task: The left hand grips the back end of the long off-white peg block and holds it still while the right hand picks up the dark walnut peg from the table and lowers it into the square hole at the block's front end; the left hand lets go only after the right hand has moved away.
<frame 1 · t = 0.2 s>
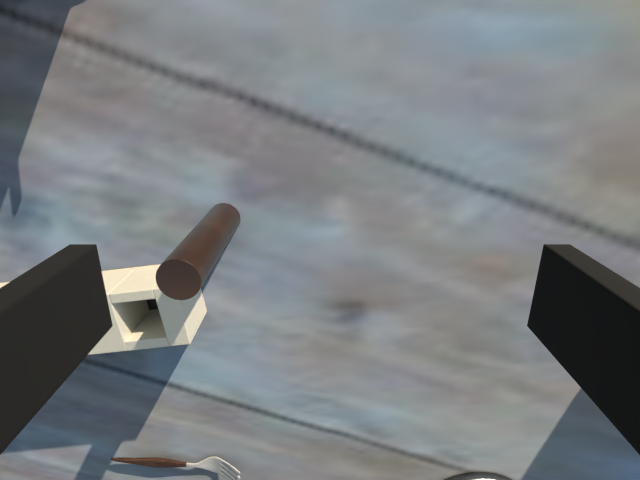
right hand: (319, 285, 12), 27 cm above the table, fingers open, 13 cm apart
fork: (178, 459, 51), on the table
walnut peg: (224, 217, 40), on the table
peg block: (89, 299, 43), on the table
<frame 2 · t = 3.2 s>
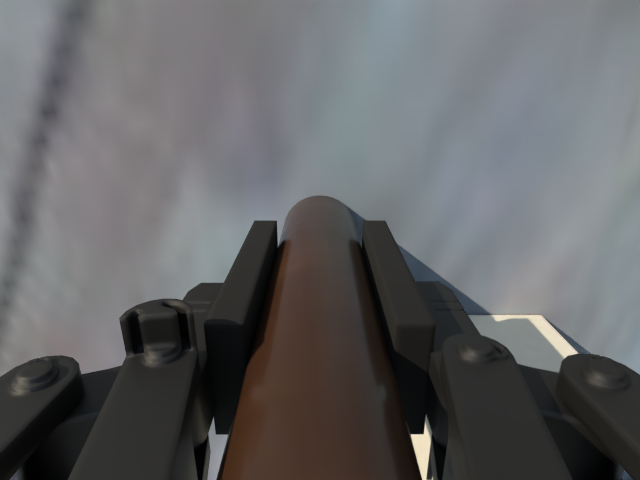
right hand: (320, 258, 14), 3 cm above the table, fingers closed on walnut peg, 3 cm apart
walnut peg: (319, 230, 17), on the table, touching right hand
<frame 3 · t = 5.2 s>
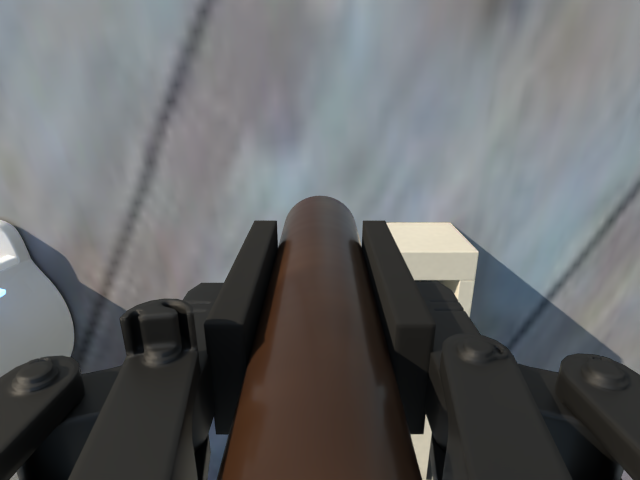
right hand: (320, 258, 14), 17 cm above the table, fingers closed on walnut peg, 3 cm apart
walnut peg: (320, 230, 17), point 14 cm above the table, touching right hand
peg block: (400, 354, 35), on the table, touching left hand
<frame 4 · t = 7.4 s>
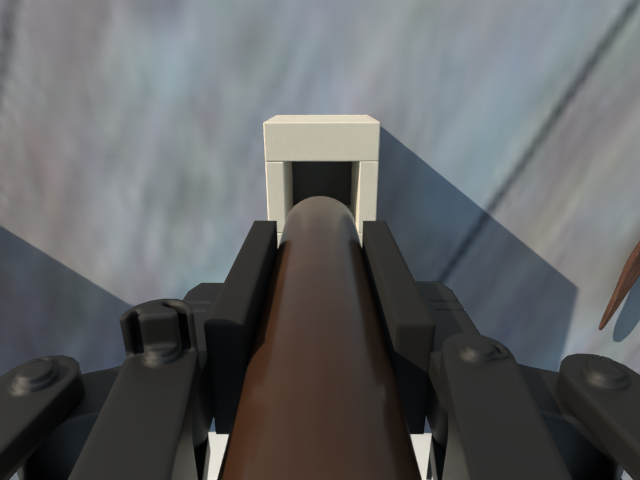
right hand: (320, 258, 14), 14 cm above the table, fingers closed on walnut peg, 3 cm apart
walnut peg: (320, 230, 17), point 12 cm above the table, touching right hand
peg block: (322, 282, 31), on the table, touching left hand
when the right hand's fingers open (8 cm above the table, at t = 9.0 s): walnut peg drops 5 cm, resting in peg block.
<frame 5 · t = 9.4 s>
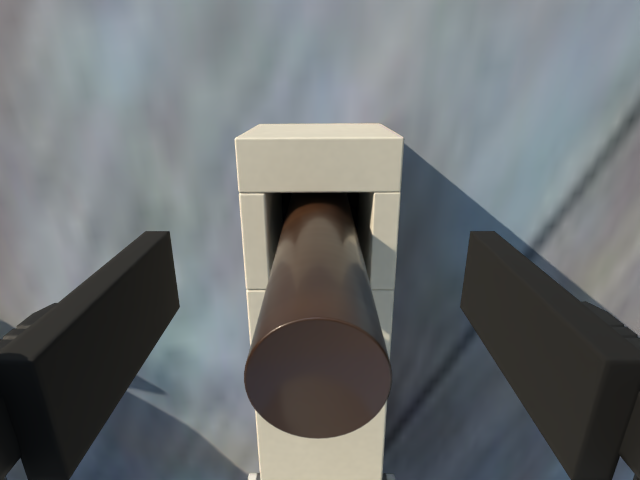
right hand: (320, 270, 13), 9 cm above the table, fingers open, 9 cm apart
walnut peg: (319, 202, 21), resting in peg block
peg block: (320, 334, 24), on the table, touching left hand
when the left hand's fingers open (2 cm above the table, at t = 12.6 s): peg block stays where it is, on the table.
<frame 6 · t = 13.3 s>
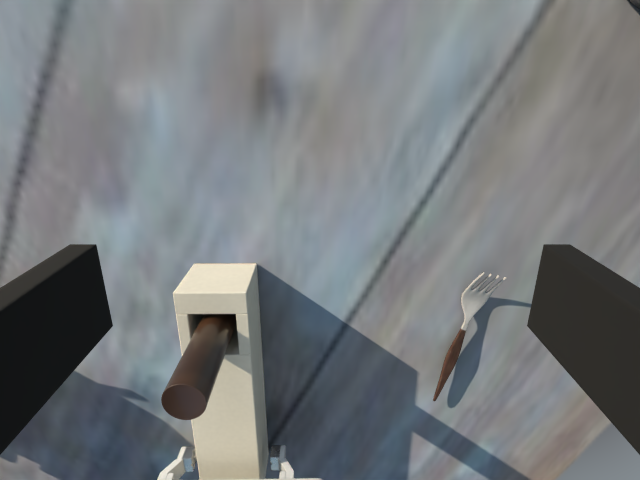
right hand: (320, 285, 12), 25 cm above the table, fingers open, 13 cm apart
fork: (457, 334, 42), on the table
walnut peg: (228, 300, 40), resting in peg block
peg block: (234, 367, 43), on the table
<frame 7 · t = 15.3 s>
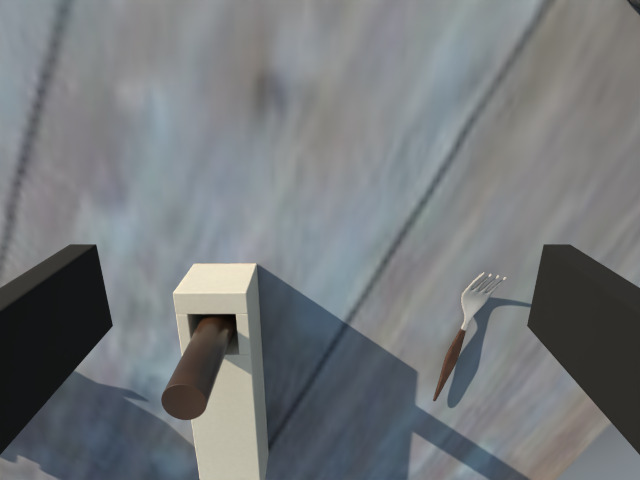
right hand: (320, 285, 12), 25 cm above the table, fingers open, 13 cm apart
fork: (457, 334, 42), on the table
walnut peg: (228, 300, 40), resting in peg block
peg block: (234, 367, 43), on the table
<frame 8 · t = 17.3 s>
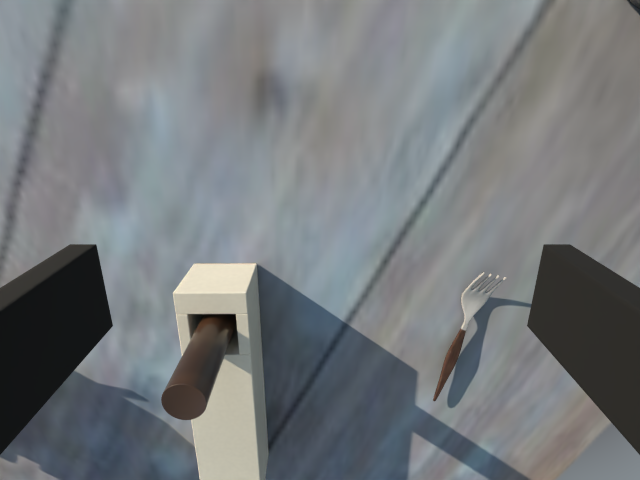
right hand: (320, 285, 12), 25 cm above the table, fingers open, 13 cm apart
fork: (457, 334, 42), on the table
walnut peg: (228, 300, 40), resting in peg block
peg block: (234, 367, 43), on the table
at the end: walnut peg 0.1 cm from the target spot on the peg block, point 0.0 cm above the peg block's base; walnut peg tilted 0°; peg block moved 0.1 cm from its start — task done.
